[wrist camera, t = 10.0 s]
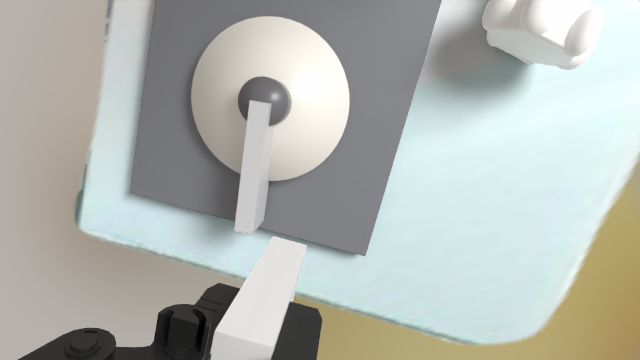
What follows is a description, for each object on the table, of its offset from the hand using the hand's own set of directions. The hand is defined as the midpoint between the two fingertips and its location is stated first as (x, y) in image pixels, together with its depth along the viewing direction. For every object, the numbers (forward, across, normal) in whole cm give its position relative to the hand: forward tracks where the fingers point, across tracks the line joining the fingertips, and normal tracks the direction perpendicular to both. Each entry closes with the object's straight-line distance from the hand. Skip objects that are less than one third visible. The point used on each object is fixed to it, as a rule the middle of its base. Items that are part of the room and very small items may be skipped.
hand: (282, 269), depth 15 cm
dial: (+18, +6, -4) cm, 20 cm away
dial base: (+20, +6, -6) cm, 22 cm away
